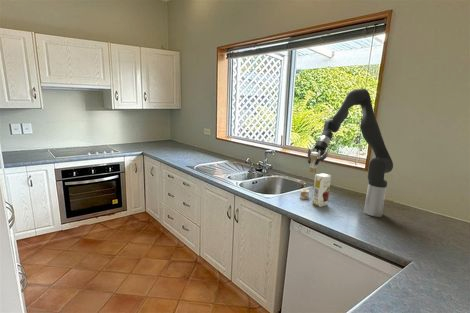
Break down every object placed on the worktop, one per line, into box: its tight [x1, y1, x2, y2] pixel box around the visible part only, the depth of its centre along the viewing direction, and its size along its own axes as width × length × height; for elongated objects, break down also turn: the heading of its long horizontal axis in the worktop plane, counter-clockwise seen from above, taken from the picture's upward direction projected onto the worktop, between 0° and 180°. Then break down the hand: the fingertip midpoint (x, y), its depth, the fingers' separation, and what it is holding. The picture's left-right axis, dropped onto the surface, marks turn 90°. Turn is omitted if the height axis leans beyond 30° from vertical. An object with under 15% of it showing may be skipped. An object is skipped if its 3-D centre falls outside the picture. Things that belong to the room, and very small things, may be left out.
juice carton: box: [311, 172, 332, 208], centre depth 160 cm, size 8×9×19 cm
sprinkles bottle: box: [308, 152, 318, 174], centre depth 173 cm, size 5×5×13 cm
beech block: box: [299, 188, 310, 200], centre depth 171 cm, size 5×5×5 cm
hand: (312, 163), depth 172 cm, fingers closed on sprinkles bottle, 4 cm apart
